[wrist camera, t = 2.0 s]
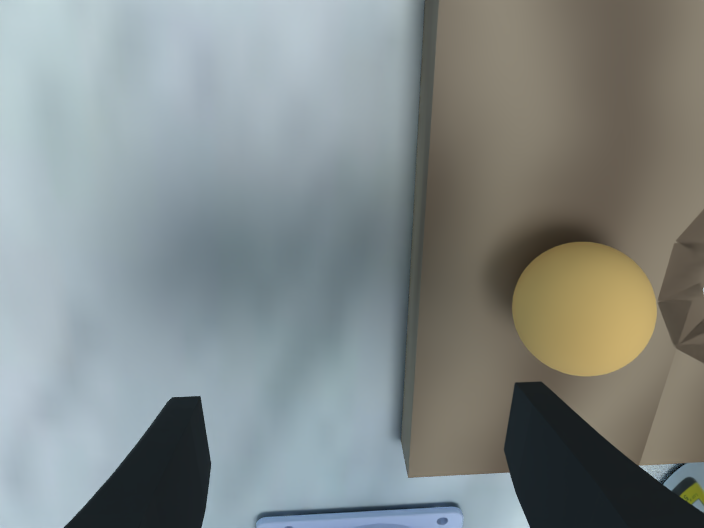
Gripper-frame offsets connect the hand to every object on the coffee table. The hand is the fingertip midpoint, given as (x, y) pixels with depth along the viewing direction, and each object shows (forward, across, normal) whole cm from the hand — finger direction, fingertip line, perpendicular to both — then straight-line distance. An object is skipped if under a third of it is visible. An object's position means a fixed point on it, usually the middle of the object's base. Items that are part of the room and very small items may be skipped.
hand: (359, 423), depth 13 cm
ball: (+4, -7, 0) cm, 8 cm away
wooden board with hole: (+8, -11, 0) cm, 14 cm away
